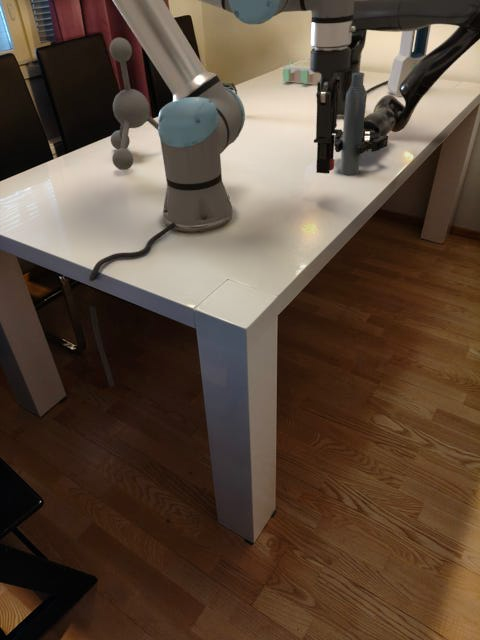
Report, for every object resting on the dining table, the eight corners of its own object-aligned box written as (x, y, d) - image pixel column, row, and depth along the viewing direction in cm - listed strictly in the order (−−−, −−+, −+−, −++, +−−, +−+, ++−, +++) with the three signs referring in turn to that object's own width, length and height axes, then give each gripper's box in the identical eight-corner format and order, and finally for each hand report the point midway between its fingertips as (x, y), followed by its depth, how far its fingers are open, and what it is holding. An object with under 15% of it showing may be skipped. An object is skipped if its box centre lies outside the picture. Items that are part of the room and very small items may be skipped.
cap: (335, 165, 107) (335, 158, 106) (332, 171, 104) (332, 164, 103) (318, 164, 108) (318, 157, 107) (314, 170, 105) (315, 163, 104)
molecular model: (196, 161, 135) (182, 37, 116) (116, 176, 129) (90, 48, 110) (173, 138, 152) (159, 27, 134) (102, 149, 146) (77, 35, 128)
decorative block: (305, 54, 216) (346, 57, 206) (304, 70, 220) (345, 74, 210) (274, 66, 200) (317, 69, 190) (274, 83, 204) (316, 87, 194)
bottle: (362, 171, 124) (373, 73, 110) (349, 176, 122) (358, 76, 108) (349, 166, 127) (357, 70, 113) (336, 171, 125) (343, 73, 111)
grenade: (217, 117, 168) (214, 86, 162) (221, 112, 172) (219, 82, 166) (235, 117, 166) (233, 86, 160) (239, 113, 171) (238, 82, 165)
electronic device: (396, 96, 178) (409, -2, 159) (385, 92, 183) (397, -3, 165) (426, 92, 180) (443, -5, 162) (415, 88, 186) (430, -6, 167)
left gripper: (344, 55, 84) (336, 184, 99) (356, 39, 97) (347, 156, 111) (301, 55, 87) (299, 182, 101) (319, 39, 99) (314, 154, 113)
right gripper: (347, 112, 131) (321, 130, 119) (400, 118, 124) (377, 137, 113) (345, 140, 135) (319, 160, 124) (396, 147, 129) (374, 169, 118)
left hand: (324, 168), depth 106 cm, fingers closed on cap, 4 cm apart
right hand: (347, 149), depth 119 cm, fingers closed on bottle, 4 cm apart
